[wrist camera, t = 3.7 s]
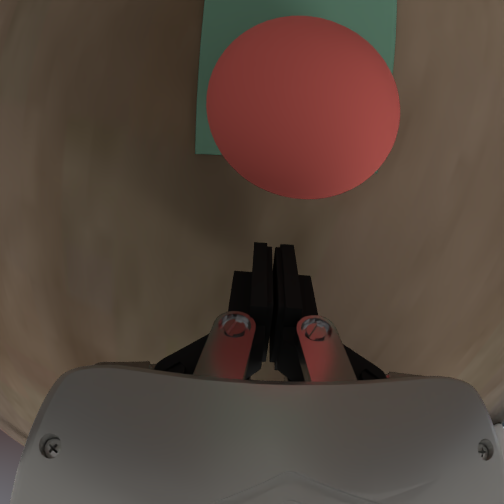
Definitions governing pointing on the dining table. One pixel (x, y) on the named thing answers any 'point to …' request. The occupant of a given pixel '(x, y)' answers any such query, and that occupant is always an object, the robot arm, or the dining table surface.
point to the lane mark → (274, 6)
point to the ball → (303, 107)
